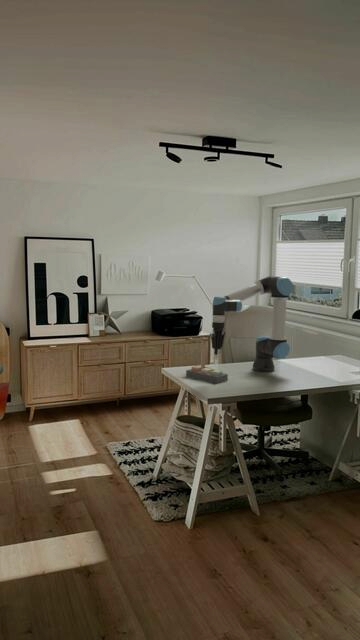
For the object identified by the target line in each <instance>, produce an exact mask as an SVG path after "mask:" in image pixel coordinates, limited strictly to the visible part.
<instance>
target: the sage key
mask: <svg viewBox="0 0 360 640" xmlns="http://www.w3.org/2000/svg"><path fill="white" fill-rule="evenodd" d="M222 373H223V370H219V369H214V371H211V375H215V376H219V375H222Z"/></svg>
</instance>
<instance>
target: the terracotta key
mask: <svg viewBox="0 0 360 640" xmlns="http://www.w3.org/2000/svg"><path fill="white" fill-rule="evenodd" d="M191 369H192V370H193V371H197V372H198V371H201V369H203V367H201V365H199V366H198V365H195V366H191Z"/></svg>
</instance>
